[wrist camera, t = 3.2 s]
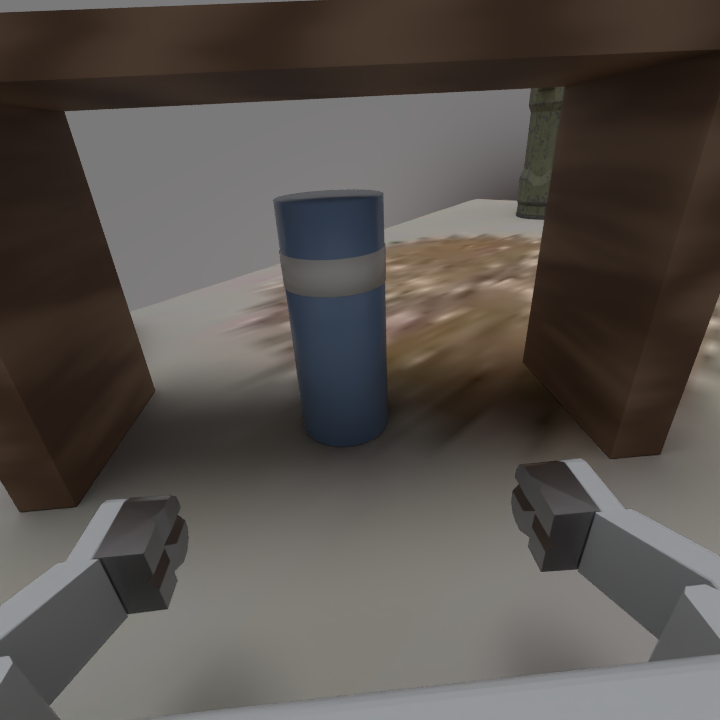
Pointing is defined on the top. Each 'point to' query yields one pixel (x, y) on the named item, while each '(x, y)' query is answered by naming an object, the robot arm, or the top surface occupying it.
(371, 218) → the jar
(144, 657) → the top surface
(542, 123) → the thermos
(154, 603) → the robot arm
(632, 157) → the riser
